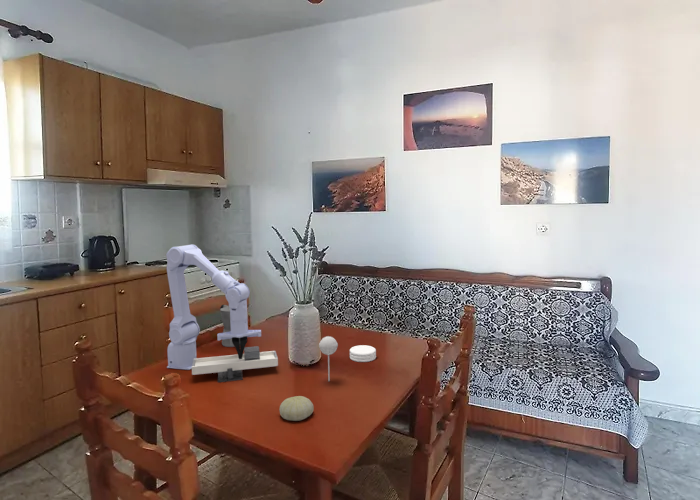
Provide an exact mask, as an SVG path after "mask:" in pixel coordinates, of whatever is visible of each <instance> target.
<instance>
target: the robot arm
mask: <svg viewBox="0 0 700 500" xmlns="http://www.w3.org/2000/svg"><path fill="white" fill-rule="evenodd" d="M202 252H203V251H202V249H200V248H199V247H198V246H197V245H196V244H193V243H192V244H186V245H180V246H179V245H178V246H172V247H171V248H169V250H167V252H166V254H165V255H166V260H167V264H166V274H167V282H168V286H169V292H170V297H171V298H170V299H171V304H172V305H171V306H172V311H173V319H172V320H171V321H170V323H169V332H168V336H169V339H170V341H171V342H170V343H168V346H167V348H166V349H167V366H166V368H167V369H175V370H185V371H190V370H192V363H193V359H196V358H198V357H197V342H196V341H197V339H198V336H199V334H200V332H201V328H200V325H199V324H198V321H197V318H196V316H194V315H193V314H192V313H191V310H190V303H189V297H188V291H187V289H188V288H187V283H186V278H185V270H186V269H187V268H189V266H195V267H197V268H198V269H200V270H201V271H202V272H203V273H205V274H206V275H207V276H209V277H210V278H211V283H212V284H213V285H214V286H215V287H216V288H218V289H219V290H220V291H221V292H222V293H223V294H225V300H226V301H227V302H228V306H229V307H230V325H231V331H230V332H224V333H223V332H219V333H217V335H216V336H217V341H222V339H232V343H233V344H234V346H235V347H234V348H235V350H236V352H237V353H236V354H238V357H239V359H242V356H243V354H244V348H245V347H246V345H247V343H248V338H252V337H253V338H254V337H258V338H259V337H262V329H249V326H248V325H249V324H248V321H249V319H248V299H249V298H250V293H251V291H250V288H249V286H248V285H247V284H246V283H243V282H241V283H240V282H239V281H238V280H237V279H234V278H233V277H232V276H231V275H230V272H229V271H228V270H222V269H221V270H219V269H218V268H217V266H215V265H214V264H213V263H212V262H211V261H210V260H209V259H208V258H207V257H206V256H205V255H204V254H203V253H202ZM239 338H240V340H239Z"/></svg>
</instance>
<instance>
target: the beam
mask: <svg viewBox="0 0 700 500" xmlns="http://www.w3.org/2000/svg"><path fill="white" fill-rule="evenodd" d="M278 366H279V358H278V355H277V351H276V350H270V351H260V360H250V361H245V359H244V353H243V356H242V359H239V357H238V353H236V354H230V355H219V356H209V357H208V356H206V357H197V358H196V359H193V363H192V369H191V375H192V376H193V375H194V376H195V375H204V374H205V375H206V374H212V373H213V374H216V373H218V372H225V371H227V369H229V368H232V371H234V370H242V371H243V370H244V371H245V370H252V369H262V368H270V367H278Z"/></svg>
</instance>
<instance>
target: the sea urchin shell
mask: <svg viewBox="0 0 700 500" xmlns="http://www.w3.org/2000/svg"><path fill="white" fill-rule="evenodd" d="M313 412H314V404H313V402H312V401H311V400H310V399H309V398H307V397H306V396H302V395H298V396H297V395H296V396H291V397H287V398H285V399H284V400H283V401H282V402H281V403H280V405H279V414H280V416H281V418H282V419H284V420H287V421H293V422H298V421H300V422H301V421H303V420H306V419H307V418H308V417H310V416H311V415H312V414H313Z"/></svg>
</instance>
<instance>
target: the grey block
mask: <svg viewBox="0 0 700 500" xmlns="http://www.w3.org/2000/svg"><path fill="white" fill-rule="evenodd" d="M260 352H261V351H260V347H259V345H258V346H257V345H256V346H255V345H254V346H245V348H244V351H243V354H244V359H245V361H250V360H260Z"/></svg>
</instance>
